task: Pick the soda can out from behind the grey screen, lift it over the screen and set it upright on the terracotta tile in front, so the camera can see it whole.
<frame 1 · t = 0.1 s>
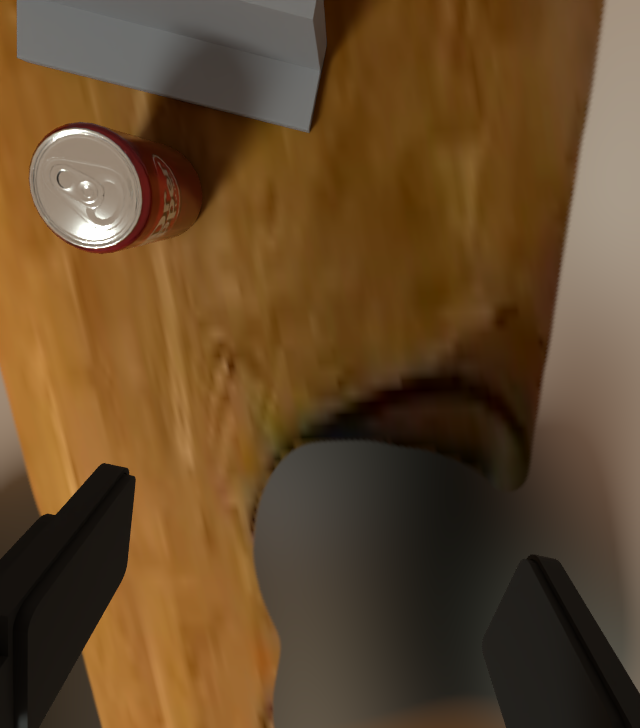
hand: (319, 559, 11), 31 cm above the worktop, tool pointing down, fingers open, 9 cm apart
screen: (177, 22, 34), on the worktop
soda can: (161, 192, 38), on the worktop
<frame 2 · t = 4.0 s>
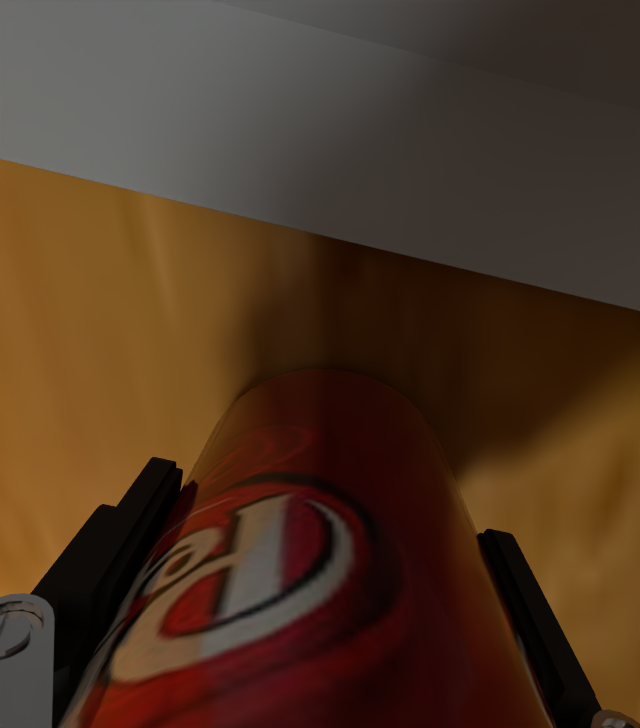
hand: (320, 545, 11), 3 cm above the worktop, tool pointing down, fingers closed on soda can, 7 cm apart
screen: (443, 24, 10), on the worktop
soda can: (324, 465, 15), on the worktop, touching gripper
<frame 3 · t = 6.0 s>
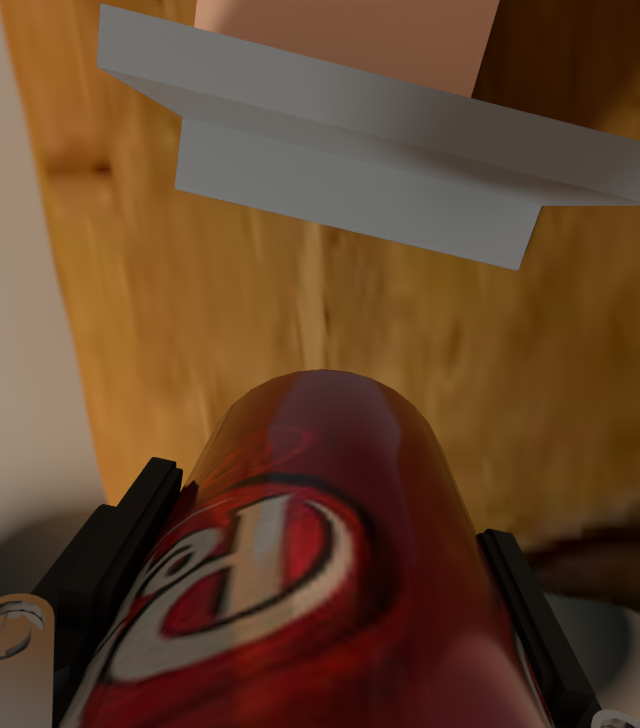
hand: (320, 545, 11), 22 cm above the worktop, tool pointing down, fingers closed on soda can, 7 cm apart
screen: (368, 146, 28), on the worktop
soda can: (324, 465, 15), point 18 cm above the worktop, touching gripper
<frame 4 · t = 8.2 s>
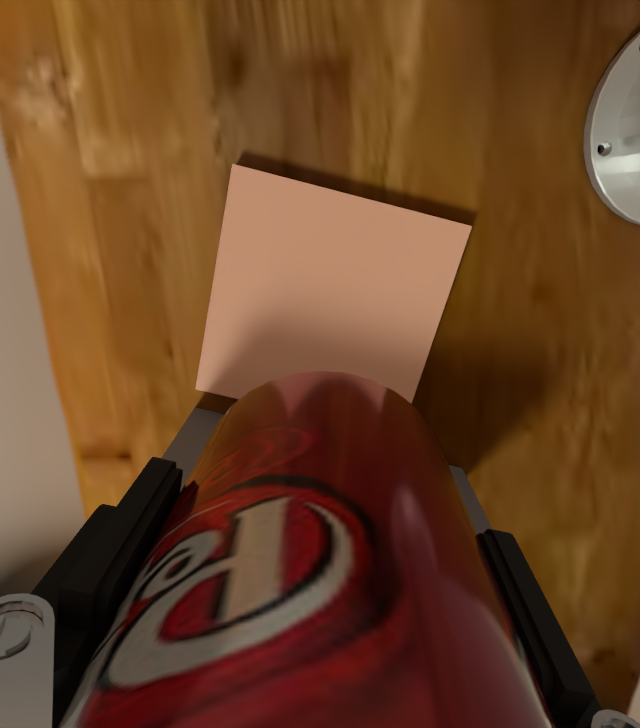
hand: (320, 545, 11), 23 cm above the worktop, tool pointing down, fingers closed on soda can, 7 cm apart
screen: (328, 448, 37), on the worktop
tile: (324, 310, 33), on the worktop
soda can: (324, 466, 15), point 20 cm above the worktop, touching gripper
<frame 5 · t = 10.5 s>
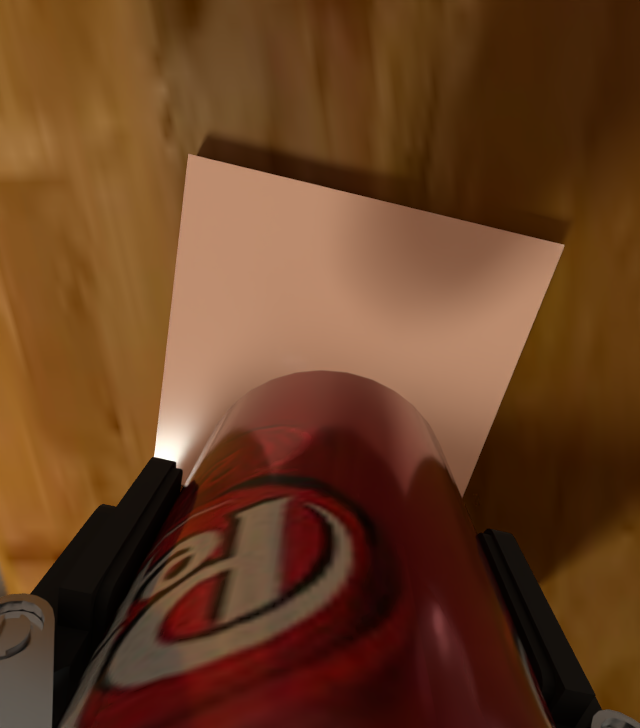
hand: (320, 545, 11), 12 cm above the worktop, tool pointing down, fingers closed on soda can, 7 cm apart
tile: (334, 367, 23), on the worktop
soda can: (324, 466, 15), point 9 cm above the worktop, touching gripper
when the fingers open (6 cm above the worktop, at t = 12.4 s): soda can drops 1 cm, resting on tile.
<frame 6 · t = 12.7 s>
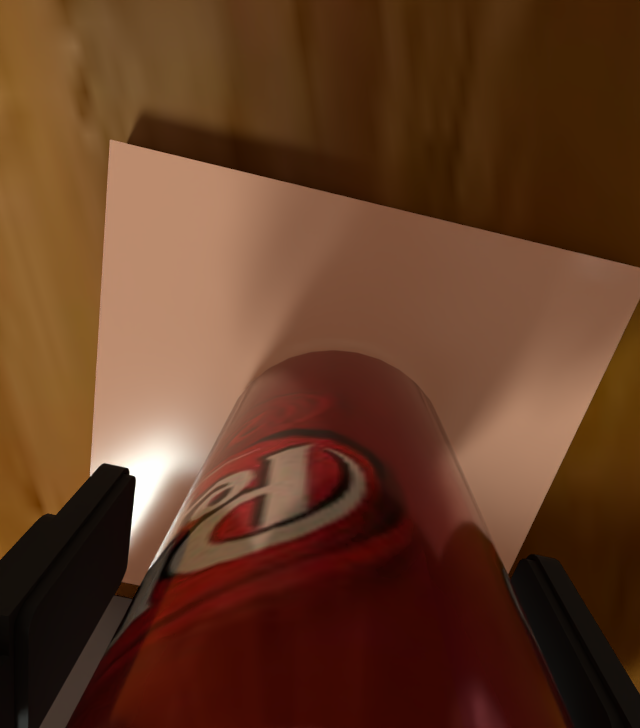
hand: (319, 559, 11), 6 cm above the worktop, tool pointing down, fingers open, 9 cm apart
screen: (335, 656, 21), on the worktop
tile: (326, 431, 17), on the worktop
soda can: (333, 441, 16), point 1 cm above the worktop, touching tile
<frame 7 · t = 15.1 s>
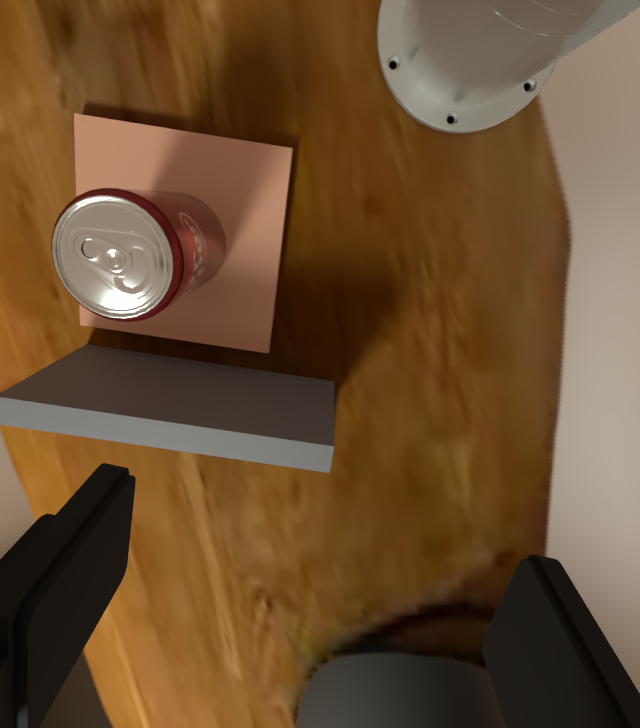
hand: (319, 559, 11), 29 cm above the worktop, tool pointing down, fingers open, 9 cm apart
screen: (210, 373, 41), on the worktop
tile: (182, 241, 37), on the worktop
soda can: (182, 241, 36), point 1 cm above the worktop, touching tile
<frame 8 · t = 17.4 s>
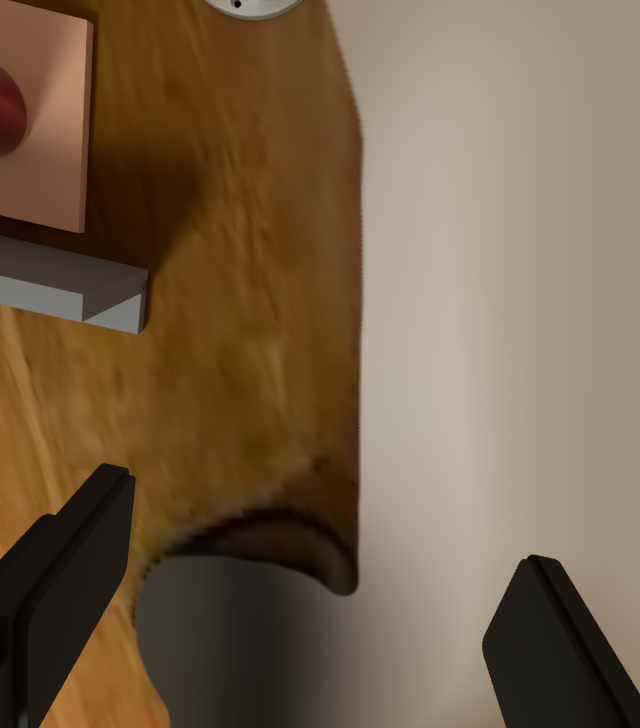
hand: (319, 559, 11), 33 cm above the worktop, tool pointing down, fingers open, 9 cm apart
screen: (28, 252, 42), on the worktop
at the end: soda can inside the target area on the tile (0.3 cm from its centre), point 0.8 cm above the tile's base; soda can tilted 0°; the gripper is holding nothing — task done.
